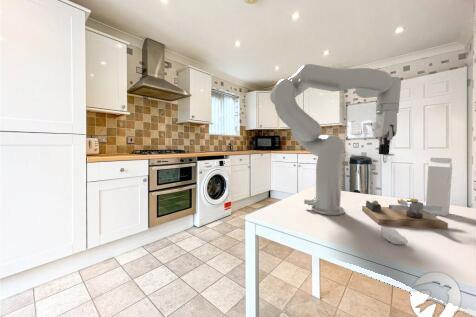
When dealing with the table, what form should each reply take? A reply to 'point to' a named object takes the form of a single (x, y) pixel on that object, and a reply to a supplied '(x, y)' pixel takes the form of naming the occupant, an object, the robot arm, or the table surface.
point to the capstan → (415, 208)
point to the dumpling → (393, 235)
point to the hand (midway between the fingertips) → (383, 154)
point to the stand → (399, 217)
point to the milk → (439, 184)
